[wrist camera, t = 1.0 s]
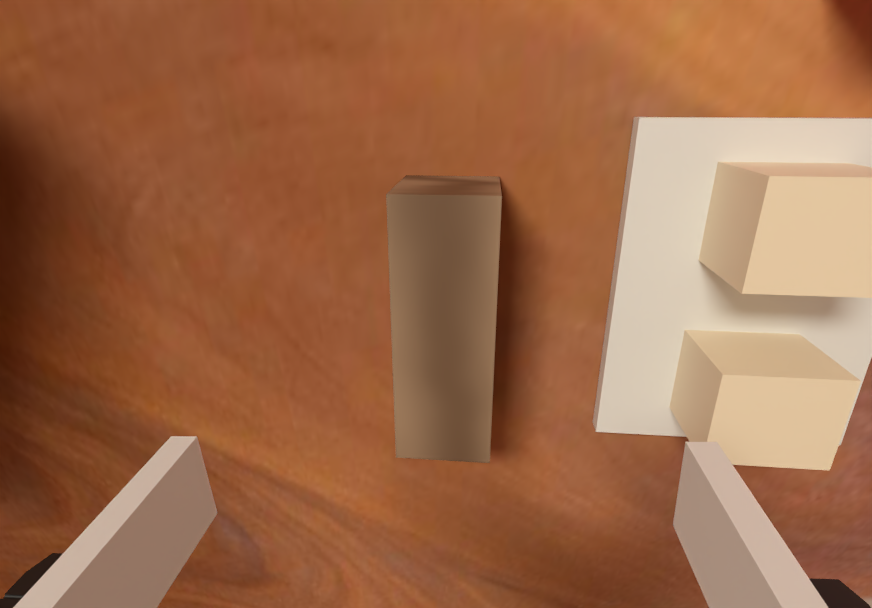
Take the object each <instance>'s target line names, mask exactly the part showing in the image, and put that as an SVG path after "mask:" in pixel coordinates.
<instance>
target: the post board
mask: <svg viewBox="0 0 872 608" xmlns="http://www.w3.org/2000/svg"><path fill="white" fill-rule="evenodd" d="M871 357H872V118H760V117H634V120H633V128H632V135H631V143H630V150H629V158H628V165H627V172H626V180H625V187H624V195H623V202H622V210H621V217H620V224H619V232H618V239H617V247H616V254H615V261H614V269H613V276H612V284H611V291H610V299H609V306H608V313H607V321H606V328H605V336H604V343H603V351H602V358H601V365H600V373H599V380H598V388H597V395H596V403H595V410H594V417H593V424H594V427H595V430H596V432H609V433H627V434H645V435H663V436H681V437H687V438H688V440H689V441H690V442H717V443H718V444H719V445H720V447H721V448H722V450H723V451H724V453H725V454H726V456H727V457H728V459H729V460H730V462H731V463H732V465H748V466H765V467H782V468H798V469H815V470H830V468H831V465H832V462H833V460H834V457H835V454H836V451H837V448H838V445H841V442H842V439H843V437H844V434H845V431H846V428H847V425H848V422H849V420H850V417H851V414H852V411H853V408H854V405H855V403H856V400H857V397H858V394H859V391H860V388H861V385H862V383H863V380H864V377H865V374H866V371H867V368H868V366H869V363H870V360H871Z"/></svg>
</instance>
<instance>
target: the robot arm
mask: <svg viewBox="0 0 872 608" xmlns="http://www.w3.org/2000/svg"><path fill="white" fill-rule="evenodd" d="M216 515H217V510H216V506H215V502H214V498H213V495H212V491H211V487H210V483H209V480H208V476H207V472H206V468H205V465H204V461H203V457H202V453H201V450H200V446H199V442H198V438H197V437H194V436H171V437H170V438H169V439H168V440H167V441H166V443H165V444H164V445H163V446H162V447H161V448H160V449H159V450H158V451H157V452H156V453H155V454H154V456H153V457H152V458H151V459H150V460H149V461H148V462H147V463H146V464H145V465H144V466H143V467H142V469H141V470H140V471H139V472H138V473H137V474H136V475H135V476H134V477H133V478H132V479H131V480H130V482H129V483H128V484H127V485H126V486H125V487H124V488H123V489H122V490H121V491H120V492H119V493H118V495H117V496H116V497H115V498H114V499H113V500H112V501H111V502H110V503H109V504H108V505H107V506H106V508H105V509H104V510H103V511H102V512H101V513H100V514H99V515H98V516H97V517H96V518H95V519H94V521H93V522H92V523H91V524H90V525H89V526H88V527H87V528H86V529H85V530H84V531H83V532H82V534H81V535H80V536H79V537H78V538H77V539H76V540H75V541H74V542H73V543H72V544H71V546H70V547H69V548H68V549H67V550H66V551H65V552H64V553H63V554H58V553H52V554H51V555H50V556H48V557H47V558H45V559H44V560H43V561H41V562H40V563H38V564H37V565H35V566H34V567H33V568H31V569H30V570H28V571H27V572H26V573H25V574H24V575H23V576H22V577H21V578H20V579H19V580H18V581H17V582H16V583H15V584H14V585H13V586H12V587H11V588H10V589H9V590H8V591H7V592H6V593H5V596H4V598H3V599H0V608H157V607H158V605H159V604H160V602H161V600H162V599H163V597H164V596H165V594H166V593H167V591H168V590H169V588H170V586H171V585H172V583H173V582H174V580H175V579H176V577H177V575H178V574H179V572H180V571H181V569H182V568H183V566H184V565H185V563H186V561H187V560H188V558H189V557H190V555H191V554H192V552H193V551H194V549H195V547H196V546H197V544H198V543H199V541H200V540H201V538H202V537H203V535H204V533H205V532H206V530H207V529H208V527H209V526H210V524H211V522H212V521H213V519H214V518H215V516H216ZM673 526H674V529H675V531H676V533H677V535H678V538H679V540H680V542H681V545H682V547H683V549H684V551H685V554H686V556H687V558H688V561H689V563H690V565H691V567H692V570H693V572H694V574H695V576H696V579H697V581H698V583H699V586H700V588H701V590H702V592H703V595H704V597H705V599H706V602H707V604H708V606H709V608H871V607H870V606H869V605H868V604H867V603H866V602H865V601H864V600H863V599H861V598H860V597H859V596H858V595H857V594H855V593H854V592H853V591H852V590H851V589H849V588H848V587H847V586H846V585H845V584H843V583H842V582H841V581H840V580H835V579H809V578H808V576H807V575H806V574H805V572H804V571H803V569H802V568H801V566H800V565H799V563H798V562H797V560H796V559H795V557H794V556H793V554H792V553H791V551H790V550H789V548H788V547H787V545H786V544H785V542H784V541H783V539H782V538H781V536H780V535H779V533H778V532H777V530H776V529H775V527H774V526H773V524H772V523H771V521H770V520H769V518H768V517H767V515H766V514H765V512H764V511H763V509H762V508H761V507H760V505H759V504H758V502H757V501H756V499H755V498H754V496H753V495H752V493H751V492H750V490H749V489H748V487H747V486H746V484H745V483H744V481H743V480H742V478H741V477H740V475H739V474H738V472H737V471H736V469H735V468H734V466H733V465H732V463H731V462H730V460H729V459H728V457H727V456H726V454H725V453H724V451H723V450H722V448H721V447H720V445H719V444H718V443H717V442H685V449H684V456H683V462H682V469H681V475H680V482H679V488H678V495H677V502H676V508H675V515H674V521H673Z"/></svg>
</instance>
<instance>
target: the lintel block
mask: <svg viewBox="0 0 872 608" xmlns="http://www.w3.org/2000/svg"><path fill="white" fill-rule="evenodd" d="M386 198H387V226H388V253H389V280H390V308H391V335H392V362H393V390H394V417H395V444H396V457H399V458H415V459H432V460H448V461H465V462H481V463H490V446H491V424H492V402H493V380H494V359H495V337H496V315H497V293H498V271H499V249H500V227H501V205H502V193H501V185H500V177H489V176H405V177H404V178H403V179H402V180H401V181H400V182H399V183H398V184H397V185H395V186H394V187H393V188H392V189H391V190H390V191H389V192H388V193H387V194H386Z"/></svg>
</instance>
